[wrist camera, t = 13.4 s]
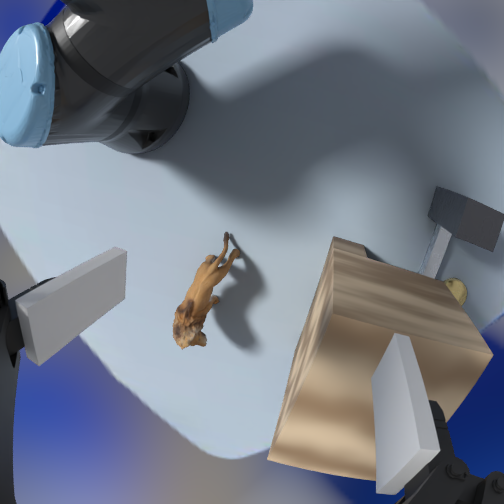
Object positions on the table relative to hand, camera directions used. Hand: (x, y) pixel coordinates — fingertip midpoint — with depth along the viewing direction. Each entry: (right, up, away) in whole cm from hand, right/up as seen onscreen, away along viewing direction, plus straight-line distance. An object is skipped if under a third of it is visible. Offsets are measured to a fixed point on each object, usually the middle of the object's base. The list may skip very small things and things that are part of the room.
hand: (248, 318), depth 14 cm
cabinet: (+15, -5, +27) cm, 31 cm away
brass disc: (+27, -3, +23) cm, 36 cm away
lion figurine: (-5, -1, +31) cm, 31 cm away
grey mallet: (+23, 0, +23) cm, 32 cm away
